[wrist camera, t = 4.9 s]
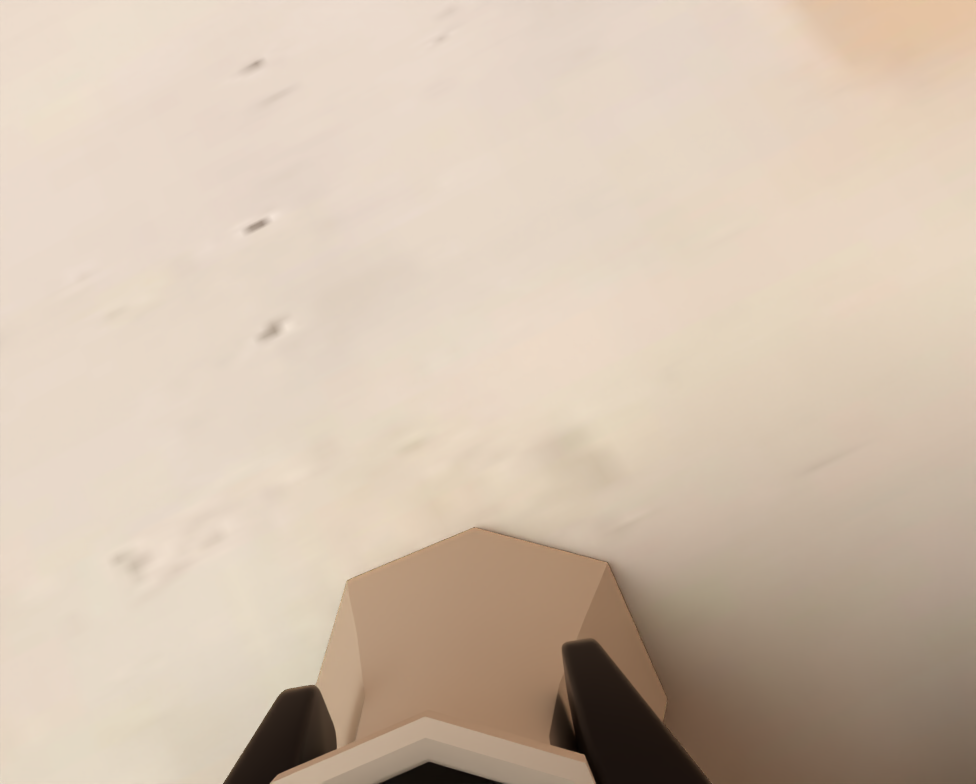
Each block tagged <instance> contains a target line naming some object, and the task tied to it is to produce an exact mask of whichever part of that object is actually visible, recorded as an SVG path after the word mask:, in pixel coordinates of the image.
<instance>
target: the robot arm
mask: <svg viewBox="0 0 976 784" xmlns="http://www.w3.org/2000/svg"><path fill="white" fill-rule="evenodd" d="M562 658H563V666H564V674H565V682H566V689H567V695H568V701H569V706H570V712H571V717H572V722H573V727H574V732H575V737H576V742H577V747H578V751H579V753H580V754H584V755H585V757H586V760H587V762H588V765H589V767H590V769H591V772H592V774H593V777H594V779H595V782H596V784H712V783H711V782H710V781H709V779H708V778H707V777H706V776H705V774H704V773H703V772H702V771H701V770H700V768H699V767H698V766H697V765H696V763H695V762H694V761H693V760H692V758H691V757H690V756H689V755H688V753H687V752H686V751H685V750H684V748H683V747H682V746H681V745H680V743H679V742H678V741H677V740H676V738H675V737H674V736H673V735H672V733H671V732H670V731H669V730H668V728H667V727H666V726H665V725H664V723H663V722H662V721H661V720H660V718H659V717H658V716H657V715H656V713H655V712H654V711H653V710H652V708H651V707H650V706H649V705H648V703H647V702H646V701H645V700H644V698H643V697H642V696H641V695H640V693H639V692H638V691H637V690H636V688H635V687H634V686H633V685H632V683H631V682H630V681H629V680H628V678H627V677H626V676H625V675H624V673H623V672H622V671H621V670H620V669H619V667H618V666H617V665H616V664H615V662H614V661H613V660H612V659H611V657H610V656H609V655H608V654H607V652H606V651H605V650H604V649H603V647H602V646H601V645H600V644H599V643H598V642H597V641H596V640H595V639H593V638H586V639H580V640H574V641H568V642H565V643H564V644H563V645H562ZM336 749H337V739H336V731H335V727H334V724H333V721H332V719H331V716H330V714H329V711H328V709H327V706H326V704H325V701H324V699H323V696H322V694H321V692H320V690H319V688H318V687H317V686H315V685H308V686H302V687H296V688H290V689H287V690H284V691H283V692H282V693H281V694H280V695H279V696H278V697H277V699H276V701H275V702H274V704H273V705H272V707H271V709H270V710H269V712H268V713H267V715H266V716H265V718H264V720H263V721H262V723H261V724H260V726H259V728H258V729H257V731H256V732H255V734H254V736H253V737H252V739H251V740H250V742H249V743H248V745H247V747H246V748H245V750H244V751H243V753H242V755H241V756H240V758H239V759H238V761H237V763H236V764H235V766H234V767H233V769H232V770H231V772H230V774H229V775H228V777H227V778H226V780H225V782H224V783H223V784H270V783H271V782H272V780H273V779H274V778H275V777H276V776H277V775H278V774H280V773H282V772H284V771H287V770H289V769H291V768H294V767H296V766H298V765H301V764H303V763H305V762H308V761H310V760H312V759H315V758H317V757H319V756H322V755H324V754H326V753H329V752H331V751H333V750H336Z"/></svg>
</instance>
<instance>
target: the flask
mask: <svg viewBox="0 0 976 784" xmlns="http://www.w3.org/2000/svg"><path fill="white" fill-rule="evenodd" d="M586 638H593V639H595V640H596V641H597V642H598V643H599V644H600V645H601V646H602V647H603V649H604V650H605V651H606V652H607V654H608V655H609V656H610V657H611V659H612V660H613V661H614V662H615V664H616V665H617V666H618V667H619V669H620V670H621V671H622V672H623V673H624V675H625V676H626V677H627V678H628V680H629V681H630V682H631V683H632V685H633V686H634V687H635V688H636V690H637V691H638V692H639V693H640V695H641V696H642V697H643V698H644V700H645V701H646V702H647V703H648V705H649V706H650V707H651V708H652V710H653V711H654V712H655V713H656V715H657V716H658V717H659V718H660V720H661V721H662V722H663V721H664V716H665V711H666V706H667V700H668V699H667V697H666V695H665V693H664V690H663V688H662V686H661V683H660V681H659V679H658V677H657V674H656V672H655V670H654V667H653V665H652V663H651V661H650V658H649V656H648V654H647V652H646V649H645V647H644V645H643V642H642V640H641V638H640V636H639V633H638V631H637V629H636V626H635V624H634V622H633V620H632V617H631V615H630V613H629V610H628V608H627V606H626V604H625V601H624V599H623V597H622V594H621V592H620V590H619V588H618V585H617V583H616V581H615V578H614V576H613V574H612V572H611V569H610V567H609V565H608V563H607V562H604V561H600V560H596V559H592V558H588V557H585V556H581V555H577V554H573V553H569V552H566V551H562V550H558V549H554V548H551V547H547V546H543V545H539V544H535V543H532V542H528V541H524V540H520V539H516V538H513V537H509V536H505V535H501V534H497V533H494V532H490V531H486V530H482V529H479V528H475V527H474V528H471V529H469V530H467V531H464V532H462V533H459V534H457V535H455V536H452V537H450V538H447V539H445V540H443V541H440V542H438V543H435V544H433V545H431V546H428V547H426V548H423V549H421V550H419V551H416V552H414V553H411V554H409V555H407V556H404V557H402V558H399V559H397V560H395V561H392V562H390V563H387V564H385V565H383V566H380V567H378V568H375V569H373V570H371V571H368V572H366V573H363V574H361V575H359V576H356V577H354V578H351V579H349V580H347V582H346V585H345V589H344V592H343V596H342V599H341V602H340V606H339V609H338V612H337V616H336V619H335V623H334V626H333V629H332V633H331V636H330V639H329V643H328V646H327V650H326V653H325V656H324V660H323V663H322V667H321V670H320V673H319V677H318V680H317V683H316V686H317V687H318V688H319V690H320V692H321V694H322V696H323V699H324V701H325V704H326V706H327V709H328V711H329V714H330V716H331V719H332V721H333V724H334V727H335V731H336V739H337V749H336V750H333V751H331V752H329V753H326V754H324V755H322V756H319V757H317V758H315V759H312V760H310V761H308V762H305V763H303V764H301V765H298V766H296V767H294V768H291V769H289V770H287V771H284V772H282V773H280V774H278V775H277V776H276V777H275V778H274V779H273V780H272V782H271V783H270V784H596V782H595V779H594V777H593V774H592V772H591V769H590V767H589V765H588V762H587V760H586V757H585V755H584V754H580V753H579V751H578V747H577V742H576V737H575V732H574V727H573V722H572V717H571V712H570V706H569V701H568V695H567V689H566V682H565V674H564V666H563V658H562V645H563V644H564V643H565V642H568V641H574V640H580V639H586Z"/></svg>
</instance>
